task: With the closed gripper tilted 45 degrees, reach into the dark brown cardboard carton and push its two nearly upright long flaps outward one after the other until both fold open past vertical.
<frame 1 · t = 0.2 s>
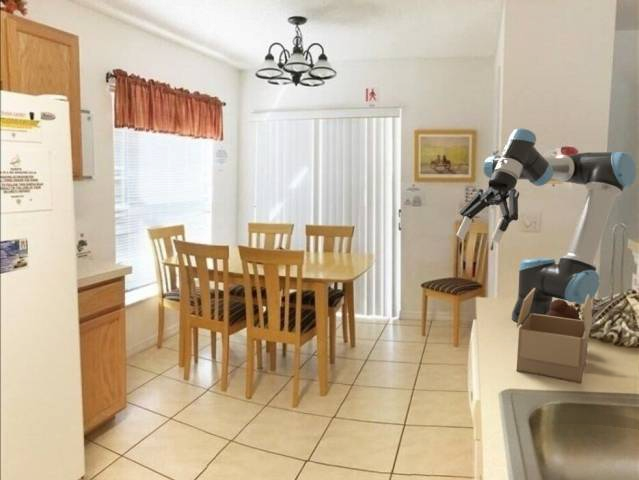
hand: (476, 238, 156), 35 cm above the table, tool tilted 35°, fingers open, 13 cm apart
carton flap 2: (526, 306, 153), point 16 cm above the table, hinge at 80.0°
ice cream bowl: (560, 348, 168), on the table
carton flap 1: (587, 314, 145), point 16 cm above the table, hinge at 80.0°
carton: (552, 366, 152), on the table
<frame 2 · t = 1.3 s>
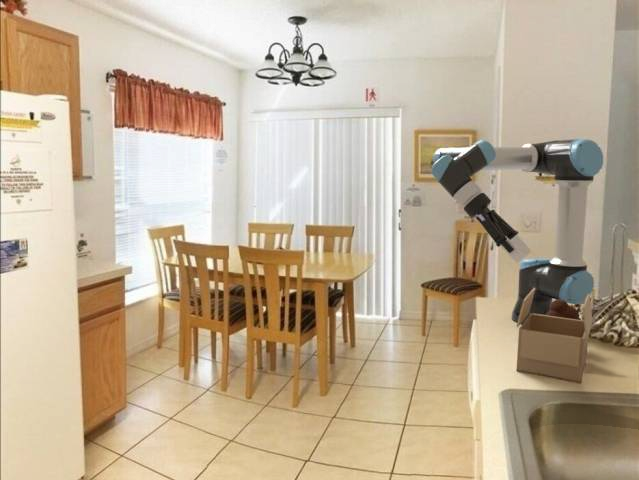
hand: (524, 257, 152), 30 cm above the table, tool tilted 45°, fingers open, 11 cm apart
nothing on the table moved.
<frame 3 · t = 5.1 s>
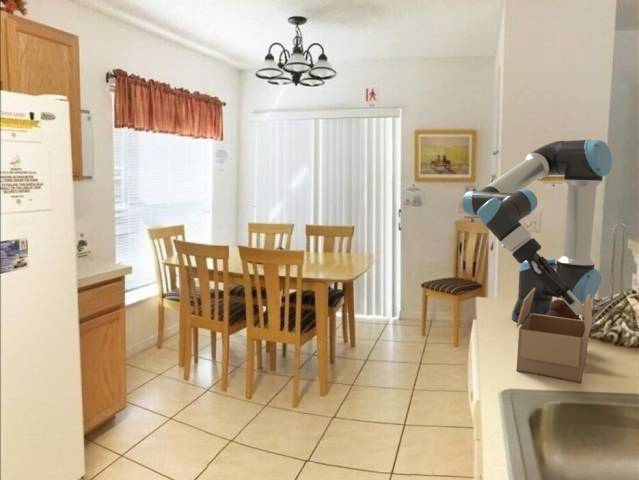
hand: (581, 312, 146), 17 cm above the table, tool tilted 45°, fingers closed
carton flap 1: (587, 314, 145), point 16 cm above the table, hinge at 80.7°, touching gripper
everything else where it was.
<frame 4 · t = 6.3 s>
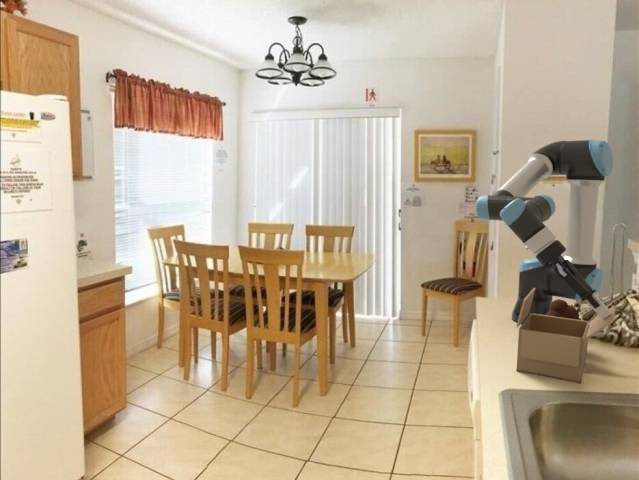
hand: (607, 316, 143), 17 cm above the table, tool tilted 45°, fingers closed
carton flap 1: (601, 321, 144), point 15 cm above the table, hinge at 135.4°, touching gripper
everything else where it was.
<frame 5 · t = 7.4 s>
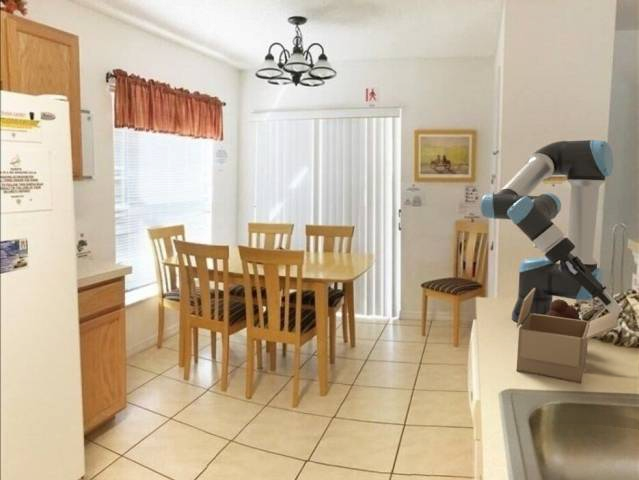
hand: (618, 312, 142), 18 cm above the table, tool tilted 45°, fingers closed
carton flap 1: (603, 323, 144), point 14 cm above the table, hinge at 146.4°
everything else where it was.
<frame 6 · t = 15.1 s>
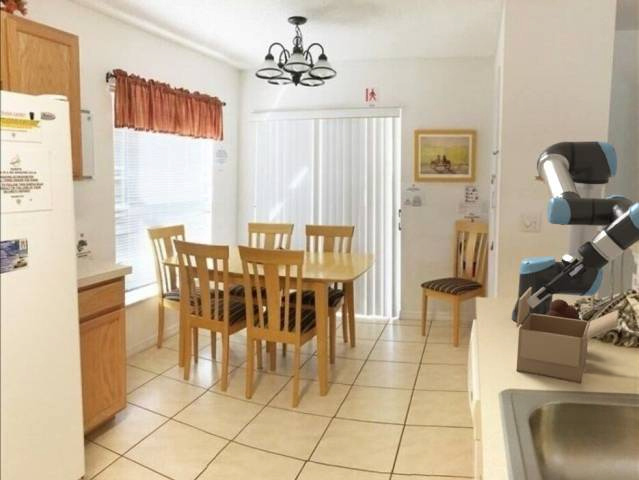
hand: (529, 304, 153), 17 cm above the table, tool tilted 45°, fingers closed
carton flap 2: (524, 306, 154), point 16 cm above the table, hinge at 88.0°, touching gripper
everything else where it was.
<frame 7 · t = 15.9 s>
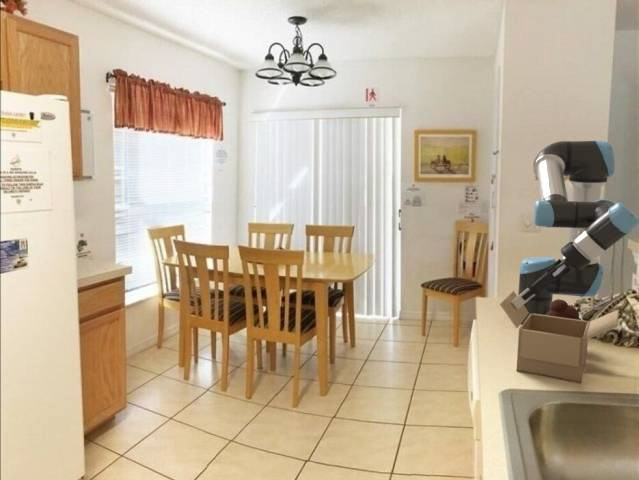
hand: (515, 304, 155), 16 cm above the table, tool tilted 45°, fingers closed
carton flap 2: (514, 308, 155), point 15 cm above the table, hinge at 128.6°, touching gripper
everything else where it was.
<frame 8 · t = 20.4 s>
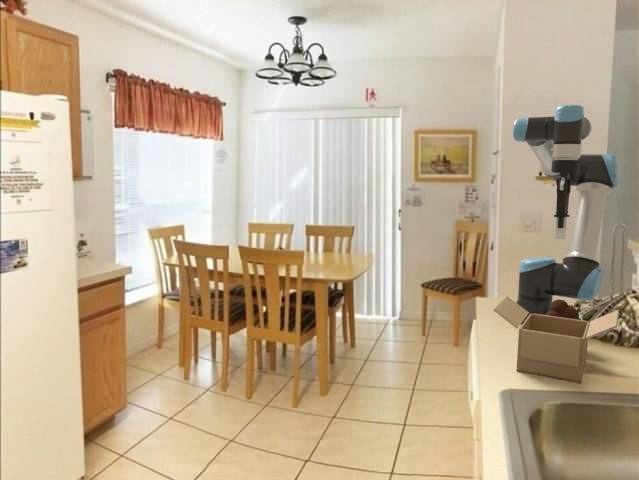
hand: (560, 238, 162), 34 cm above the table, tool pointing down, fingers closed
carton flap 2: (511, 311, 155), point 14 cm above the table, hinge at 147.3°
everything else where it was.
at the end: carton flap 1 at +146° (first picture: +80°); carton flap 2 at +147° (first picture: +80°) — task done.
